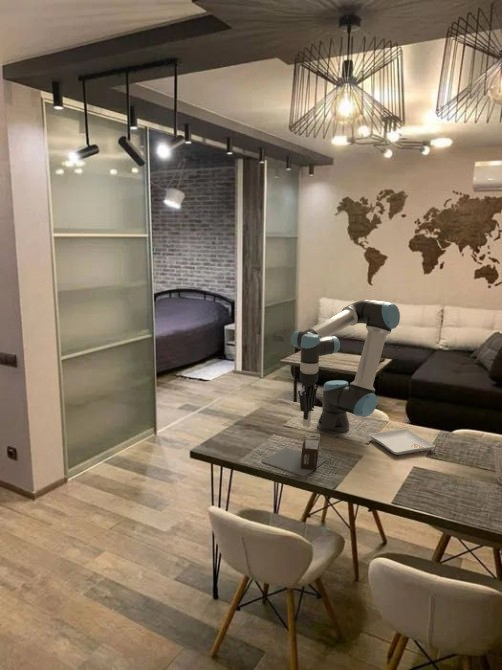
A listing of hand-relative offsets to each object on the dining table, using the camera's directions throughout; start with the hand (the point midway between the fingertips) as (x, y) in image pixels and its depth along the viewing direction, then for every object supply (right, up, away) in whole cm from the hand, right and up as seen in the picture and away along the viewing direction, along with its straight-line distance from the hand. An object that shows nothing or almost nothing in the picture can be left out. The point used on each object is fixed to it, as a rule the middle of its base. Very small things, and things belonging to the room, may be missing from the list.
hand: (306, 425), depth 211 cm
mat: (-6, -14, -5) cm, 16 cm away
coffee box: (+3, -8, +2) cm, 8 cm away
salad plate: (+44, -12, +14) cm, 47 cm away
